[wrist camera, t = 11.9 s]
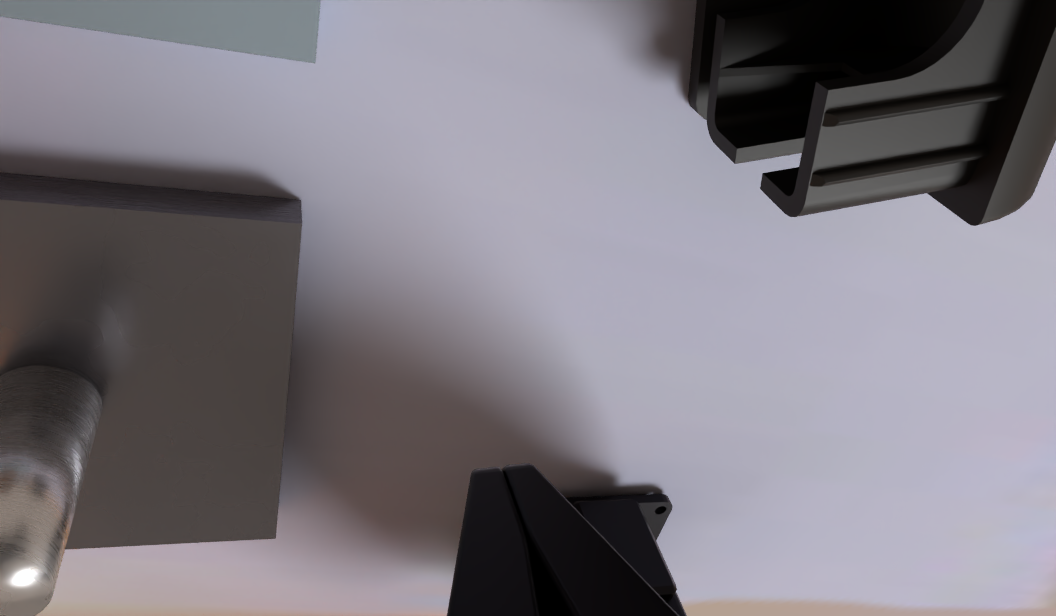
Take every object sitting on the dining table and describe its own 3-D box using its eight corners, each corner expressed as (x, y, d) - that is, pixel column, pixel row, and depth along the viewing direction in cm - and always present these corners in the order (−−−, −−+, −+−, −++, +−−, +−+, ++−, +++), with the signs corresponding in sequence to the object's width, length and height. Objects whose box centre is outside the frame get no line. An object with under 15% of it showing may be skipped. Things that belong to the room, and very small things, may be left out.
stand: (275, 509, 26) (273, 706, 21) (-161, 527, 22) (-299, 776, 17) (300, 199, 20) (306, 375, 14) (-312, 144, 16) (-615, 359, 10)
